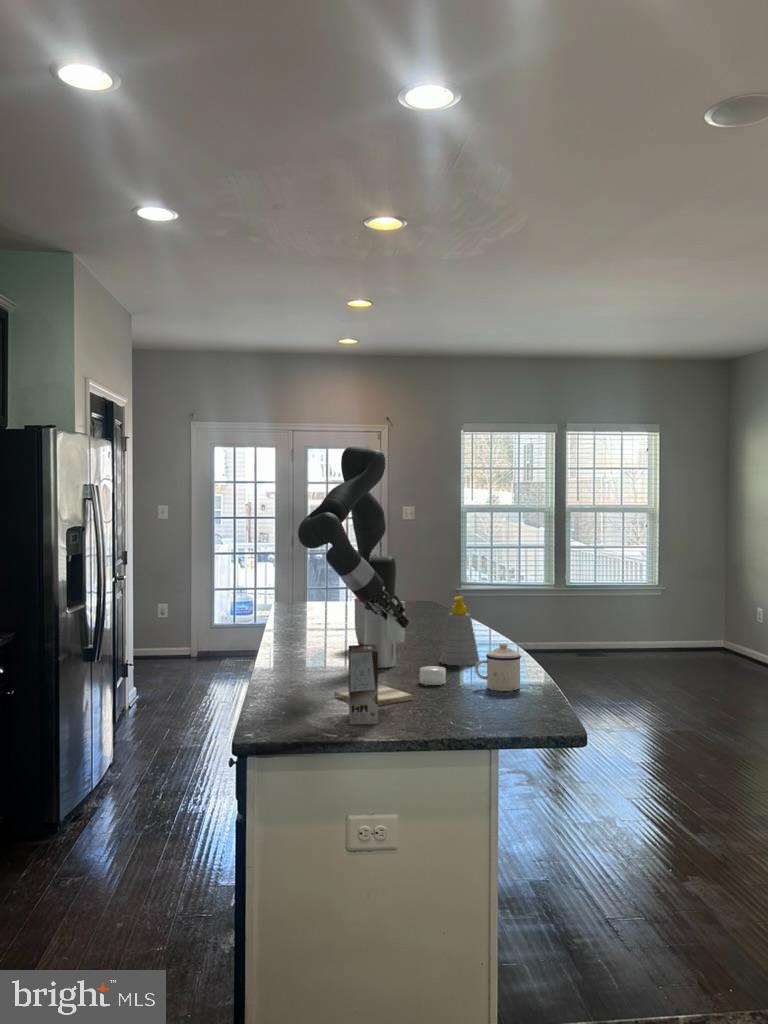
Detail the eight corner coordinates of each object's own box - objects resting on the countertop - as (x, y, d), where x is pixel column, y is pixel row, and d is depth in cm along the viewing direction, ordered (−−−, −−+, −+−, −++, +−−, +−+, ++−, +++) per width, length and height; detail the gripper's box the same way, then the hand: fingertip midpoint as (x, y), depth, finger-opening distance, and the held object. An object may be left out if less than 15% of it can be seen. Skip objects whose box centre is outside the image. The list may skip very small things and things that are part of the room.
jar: (382, 641, 194) (382, 601, 194) (397, 639, 197) (397, 600, 197) (393, 643, 190) (393, 603, 190) (409, 642, 193) (409, 601, 193)
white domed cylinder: (414, 682, 211) (414, 668, 211) (435, 679, 215) (435, 665, 215) (429, 687, 205) (429, 672, 205) (450, 684, 209) (450, 669, 209)
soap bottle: (434, 664, 236) (433, 597, 236) (446, 657, 247) (446, 593, 248) (473, 667, 231) (473, 599, 231) (484, 660, 243) (484, 595, 243)
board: (334, 696, 195) (334, 692, 195) (380, 689, 203) (380, 684, 203) (365, 708, 183) (365, 703, 183) (412, 699, 191) (412, 694, 191)
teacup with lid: (518, 684, 208) (517, 641, 208) (523, 692, 199) (523, 646, 199) (473, 684, 208) (473, 641, 208) (477, 692, 199) (477, 647, 199)
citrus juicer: (405, 652, 257) (404, 592, 257) (352, 652, 257) (352, 592, 257) (404, 644, 272) (404, 587, 272) (355, 644, 272) (354, 587, 273)
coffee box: (378, 724, 169) (378, 651, 169) (349, 725, 168) (349, 651, 168) (375, 713, 178) (375, 644, 178) (348, 714, 178) (347, 644, 178)
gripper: (386, 568, 183) (426, 615, 190) (353, 565, 195) (391, 610, 202) (368, 591, 180) (409, 639, 187) (335, 587, 192) (375, 632, 199)
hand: (400, 624), depth 194 cm, fingers closed on jar, 4 cm apart
